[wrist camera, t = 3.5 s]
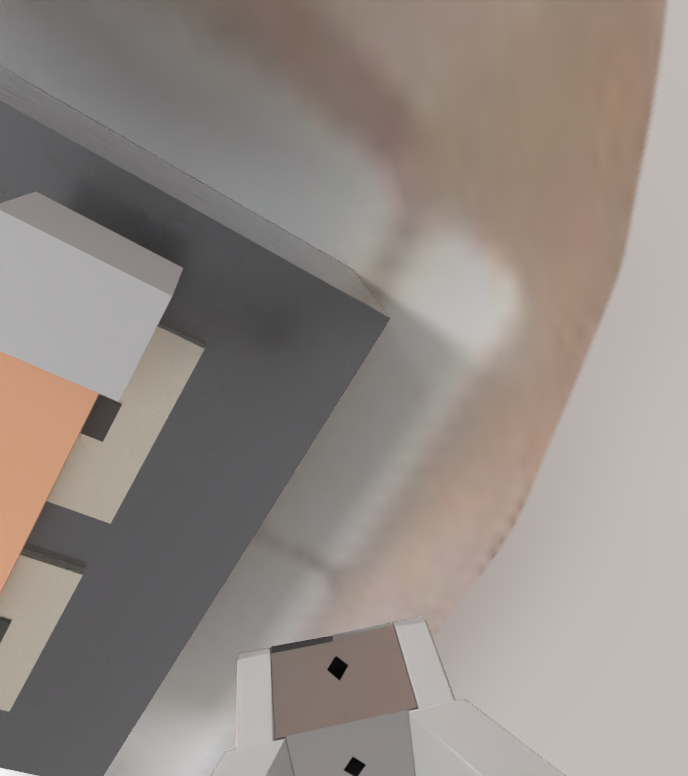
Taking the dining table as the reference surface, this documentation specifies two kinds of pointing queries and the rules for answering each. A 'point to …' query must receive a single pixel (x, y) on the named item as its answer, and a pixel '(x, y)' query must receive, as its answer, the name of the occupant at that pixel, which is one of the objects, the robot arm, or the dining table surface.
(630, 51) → the dining table surface
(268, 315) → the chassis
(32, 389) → the swing arm
